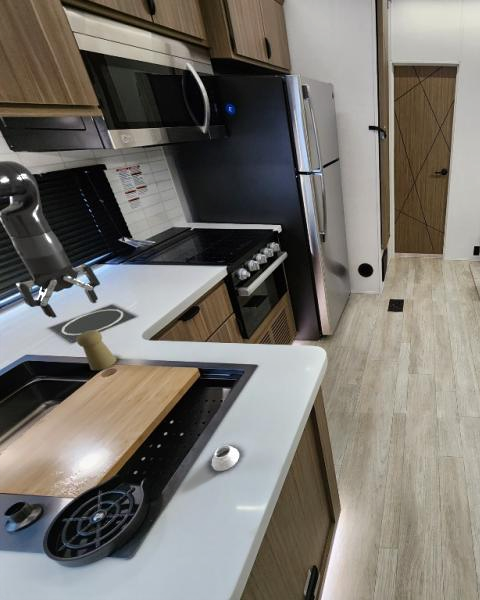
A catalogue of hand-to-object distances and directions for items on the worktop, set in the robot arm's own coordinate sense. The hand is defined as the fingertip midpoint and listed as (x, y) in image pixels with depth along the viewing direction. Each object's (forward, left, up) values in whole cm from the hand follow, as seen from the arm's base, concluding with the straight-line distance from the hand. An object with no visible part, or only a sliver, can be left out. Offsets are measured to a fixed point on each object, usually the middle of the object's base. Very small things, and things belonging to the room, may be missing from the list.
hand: (74, 309), depth 87 cm
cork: (0, 0, -19) cm, 19 cm away
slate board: (+9, +30, -18) cm, 36 cm away
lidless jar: (-2, -59, -19) cm, 62 cm away
